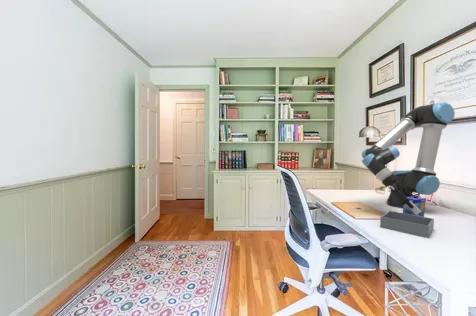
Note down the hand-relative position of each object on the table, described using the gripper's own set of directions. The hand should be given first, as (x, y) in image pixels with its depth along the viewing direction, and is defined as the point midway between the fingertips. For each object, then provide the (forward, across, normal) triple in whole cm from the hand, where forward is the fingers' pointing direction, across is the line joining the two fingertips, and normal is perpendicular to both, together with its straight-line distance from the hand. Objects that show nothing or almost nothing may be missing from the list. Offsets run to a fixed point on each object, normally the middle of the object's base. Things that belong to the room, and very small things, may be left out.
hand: (420, 211), depth 119 cm
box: (+2, +16, -6) cm, 18 cm away
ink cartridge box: (+2, 0, -6) cm, 7 cm away
